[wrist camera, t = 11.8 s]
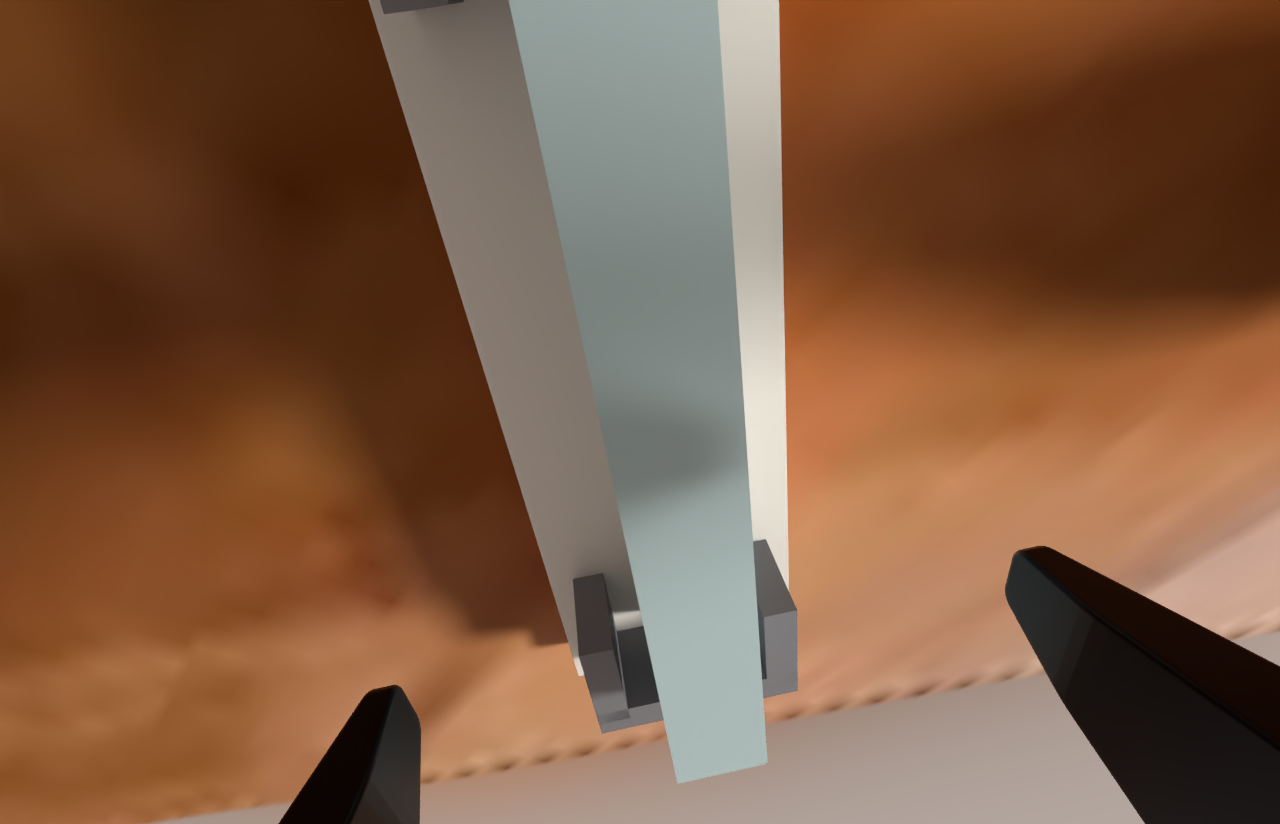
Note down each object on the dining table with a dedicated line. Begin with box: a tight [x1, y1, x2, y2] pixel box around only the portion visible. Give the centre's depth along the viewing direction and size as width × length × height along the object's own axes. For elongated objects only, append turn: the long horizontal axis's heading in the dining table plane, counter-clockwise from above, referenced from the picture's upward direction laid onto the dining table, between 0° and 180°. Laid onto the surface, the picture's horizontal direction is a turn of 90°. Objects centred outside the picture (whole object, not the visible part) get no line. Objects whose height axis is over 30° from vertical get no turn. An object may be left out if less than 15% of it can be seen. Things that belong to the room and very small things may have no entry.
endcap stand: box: [368, 0, 798, 733], centre depth 16 cm, size 8×26×4 cm, turn 8°
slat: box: [509, 0, 767, 784], centre depth 15 cm, size 2×20×6 cm, turn 9°
